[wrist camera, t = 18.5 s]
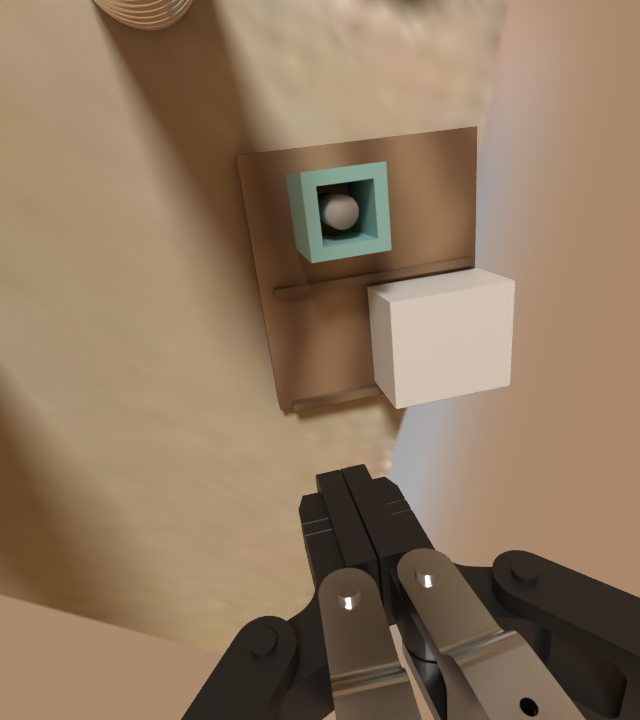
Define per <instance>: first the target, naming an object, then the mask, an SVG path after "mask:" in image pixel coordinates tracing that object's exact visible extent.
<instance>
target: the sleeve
mask: <svg viewBox="0 0 640 720" xmlns="http://www.w3.org/2000/svg"><path fill="white" fill-rule="evenodd" d="M286 180H287V187H288V194H289V201H290V208H291V215H292V222H293V229H294V236H295V243H296V250H297V251H299V252H300V253H301V254H302V255H303V256H304V257H305V258H307V259H308V260H309V261H310V262H311V263H316V262H322V261H328V260H335V259H341V258H347V257H353V256H359V255H365V254H371V253H377V252H383V251H389V250H392V249H391V232H390V216H389V199H388V183H387V166H386V161H384V162H377V163H369V164H361V165H354V166H346V167H339V168H331V169H324V170H317V171H309V172H302V173H294V174H287V175H286ZM344 182H347V185H348V196H350V197H352V198H353V199H354V200H355V201H356V203H357V205H358V208H359V215H358V219H357V221H356V222H355V224H354V225H353V226H352V227H351V228H352V229H350V230H344V231H338V232H331V233H325V234H322V233H321V224H320V216H319V207H318V199H317V191H316V186H322V185H329V184H336V183H344Z"/></svg>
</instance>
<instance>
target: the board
mask: <svg viewBox="0 0 640 720" xmlns="http://www.w3.org/2000/svg"><path fill="white" fill-rule="evenodd" d="M236 161H237V167H238V173H239V179H240V184H241V190H242V196H243V201H244V207H245V213H246V219H247V224H248V230H249V236H250V241H251V247H252V253H253V259H254V264H255V270H256V276H257V282H258V287H259V293H260V299H261V304H262V310H263V316H264V322H265V327H266V333H267V339H268V344H269V350H270V356H271V362H272V367H273V373H274V379H275V384H276V390H277V396H278V402H279V406H280V410H282V409H287V408H292V407H293V410H294V412H296V411H301V410H306V409H311V408H315V407H320V406H325V405H330V404H335V403H340V402H345V401H349V400H354V399H359V398H364V397H369V396H374V395H379V394H383V391H382V390H381V389H380V388H379V386H378V385H377V384H376V382H375V378H374V366H373V353H372V340H371V327H370V315H369V302H368V289H367V287H368V286H374V285H380V284H386V283H392V282H398V281H404V280H410V279H416V278H422V277H427V276H433V275H439V274H445V273H451V272H457V271H463V270H469V269H475V227H476V223H475V222H476V167H477V126H476V127H468V128H460V129H452V130H443V131H435V132H427V133H418V134H410V135H402V136H394V137H385V138H377V139H369V140H361V141H352V142H344V143H336V144H327V145H319V146H311V147H303V148H294V149H286V150H278V151H270V152H261V153H253V154H245V155H236ZM384 161H386V166H387V183H388V199H389V216H390V232H391V249H392V250H389V251H383V252H377V253H371V254H365V255H359V256H353V257H347V258H341V259H335V260H328V261H322V262H316V263H311V262H310V261H309V260H308V259H307V258H305V257H304V256H303V255H302V254H301V253H300V252H299V251H297V250H296V243H295V236H294V229H293V222H292V215H291V208H290V201H289V194H288V187H287V180H286V175H287V174H294V173H302V172H309V171H317V170H324V169H331V168H339V167H346V166H354V165H361V164H369V163H377V162H384ZM316 191H317V199H318V207H319V216H320V224H321V233H322V234H325V233H331V232H338V231H344V230H350V229H352V228H351V227H352V226H353V225H354V224H355V222H356V221H357V219H358V215H359V208H358V205H357V203H356V201H355V200H354V199H353V198H352V197H350V196H348V185H347V182H344V183H336V184H329V185H322V186H316Z"/></svg>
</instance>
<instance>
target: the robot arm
mask: <svg viewBox="0 0 640 720" xmlns="http://www.w3.org/2000/svg"><path fill="white" fill-rule="evenodd" d="M316 483H317V490H318V493H313V494H309V495H305V496H303V497H302V500H301V503H300V507H299V514H300V520H301V526H302V532H303V538H304V543H305V549H306V553H307V557H308V562H309V566H310V570H311V574H312V579H313V583H314V587H315V593H314V596H313V598H312V600H311V602H310V603H309V604H308V605H307V607H306V608H305V609H304V610H303V611H301V612H300V613H298V614H297V615H295V616H294V617H292V618H291V619H289V620H288V621H285V620H284V619H282V618H280V617H276V616H264V617H259V618H257V619H254V620H253V621H251V622H249V623H248V624H246V625H245V626H244V627H243V628H242V629H241V630H240V631H239V633H238V634H237V635H236V637H235V638H234V640H233V642H232V643H231V645H230V646H229V648H228V649H227V651H226V652H225V654H224V655H223V657H222V658H221V660H220V661H219V663H218V665H217V666H216V667H215V669H214V670H213V672H212V673H211V675H210V677H209V678H208V679H207V681H206V683H205V684H204V686H203V687H202V689H201V690H200V692H199V693H198V695H197V696H196V698H195V699H194V701H193V702H192V704H191V705H190V707H189V708H188V710H187V711H186V713H185V714H184V716H183V717H182V719H181V720H322V719H323V718H325V717H326V716H327V715H328V714H330V713H331V712H332V711H334V710H335V714H336V720H422V719H421V715H420V712H419V709H418V706H417V703H416V699H415V696H414V693H413V689H412V686H411V683H410V680H409V677H408V674H407V672H406V670H405V668H402V667H401V664H400V662H399V658H398V655H397V652H396V649H395V645H394V642H393V638H392V635H391V631H390V628H389V626H391V625H394V624H397V626H398V629H399V631H400V634H401V637H402V648H403V654H404V656H405V659H406V661H407V663H408V665H409V667H410V669H411V671H412V673H413V675H414V678H415V680H416V682H417V684H418V686H419V688H420V690H421V692H422V694H423V697H424V699H425V701H426V703H427V705H428V707H429V709H430V711H431V713H432V715H433V717H434V720H640V598H639V597H636V596H634V595H631V594H629V593H627V592H624V591H622V590H619V589H617V588H615V587H612V586H610V585H608V584H605V583H603V582H600V581H598V580H595V579H593V578H591V577H588V576H586V575H583V574H581V573H579V572H576V571H574V570H571V569H569V568H566V567H564V566H562V565H559V564H557V563H555V562H552V561H549V560H547V559H545V558H542V557H540V556H538V555H535V554H533V553H529V552H526V551H519V550H515V551H514V550H512V551H507V552H504V553H502V554H500V555H499V556H498V557H497V558H496V559H495V560H494V563H493V567H471V566H463V565H458V564H455V563H453V562H452V561H451V560H450V559H449V558H448V557H447V556H446V555H444V554H443V553H441V552H439V551H436V550H435V548H434V547H433V545H432V544H431V542H430V540H429V538H428V537H427V535H426V533H425V532H424V530H423V529H422V527H421V525H420V523H419V522H418V520H417V518H416V517H415V515H414V513H413V511H411V508H410V506H409V504H408V503H407V501H406V500H405V498H404V496H403V494H402V493H401V491H400V489H399V488H398V486H397V485H396V484H394V483H393V482H391V481H390V480H389V479H387V478H386V477H381V478H377V479H373V480H372V478H371V476H370V474H369V472H368V470H367V468H366V466H365V465H364V464H361V465H357V466H352V467H348V468H344V469H340V470H335V471H331V472H327V473H322V474H318V475H316Z"/></svg>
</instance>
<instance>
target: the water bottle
mask: <svg viewBox="0 0 640 720" xmlns="http://www.w3.org/2000/svg"><path fill="white" fill-rule="evenodd" d="M94 1H95V2H96V3H97V5H98V6H99V7H100V8H101V9H103V10H104V11H105V12H106V13H107V14H108V15H110V16H111V17H112V18H114V19H115V20H117V21H119V22H120V23H122V24H124V25H127V26H129V27H132V28H135V29H139V30H147V31H153V30H160V29H164V28H167V27H169V26H171V25H173V24H174V23H176V22H177V21H179V20H180V19H181V18H182V17H183V16H184V15H185V14H186V12H187V11H188V10H189V8H190V6H191V4H192V3H193V0H94Z"/></svg>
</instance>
